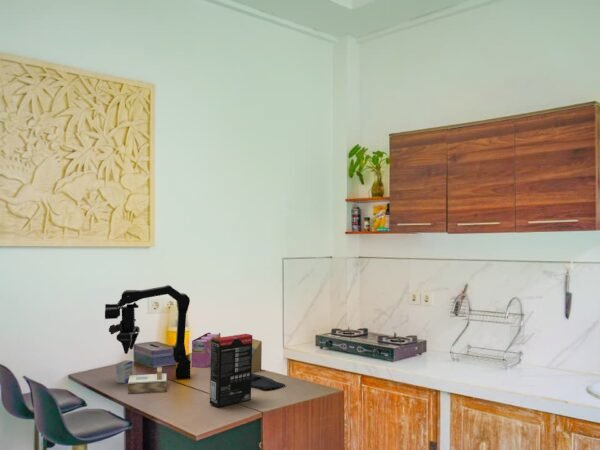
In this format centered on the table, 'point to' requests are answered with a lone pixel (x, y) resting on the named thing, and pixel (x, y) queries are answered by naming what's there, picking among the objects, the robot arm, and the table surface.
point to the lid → (148, 377)
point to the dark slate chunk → (264, 382)
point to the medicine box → (123, 371)
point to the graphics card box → (230, 369)
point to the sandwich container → (256, 355)
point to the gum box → (202, 350)
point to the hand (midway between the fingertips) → (128, 351)
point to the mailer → (146, 387)
